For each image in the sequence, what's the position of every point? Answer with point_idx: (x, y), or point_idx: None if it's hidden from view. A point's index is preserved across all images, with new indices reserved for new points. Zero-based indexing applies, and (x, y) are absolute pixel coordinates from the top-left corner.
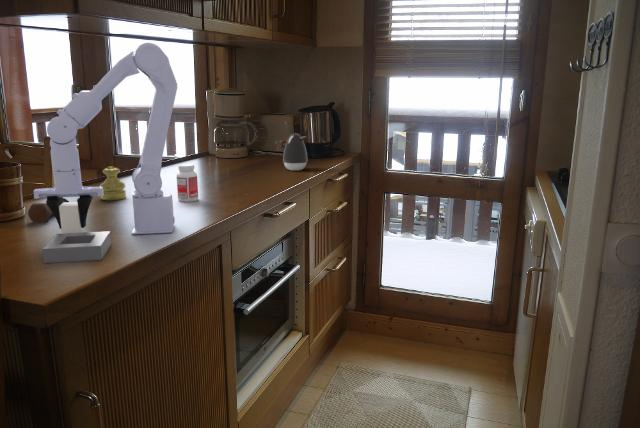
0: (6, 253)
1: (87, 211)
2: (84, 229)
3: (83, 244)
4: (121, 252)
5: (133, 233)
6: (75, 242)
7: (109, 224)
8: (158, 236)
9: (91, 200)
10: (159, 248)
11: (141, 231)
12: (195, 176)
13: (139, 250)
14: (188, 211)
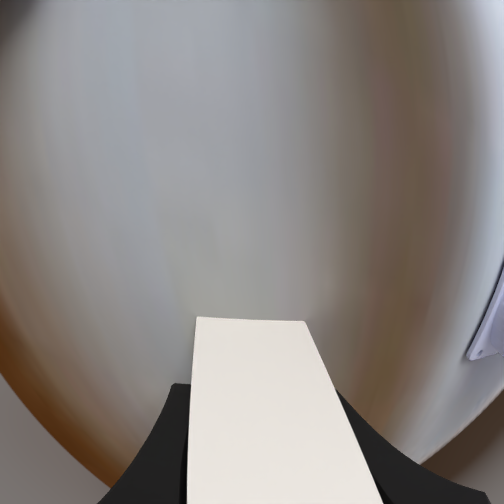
0: (65, 448)
1: (388, 452)
2: (312, 339)
3: None
4: None
5: (470, 359)
6: None
7: (440, 120)
8: (497, 365)
9: (466, 488)
10: (448, 440)
11: (492, 346)
12: None
13: (414, 456)
14: None
